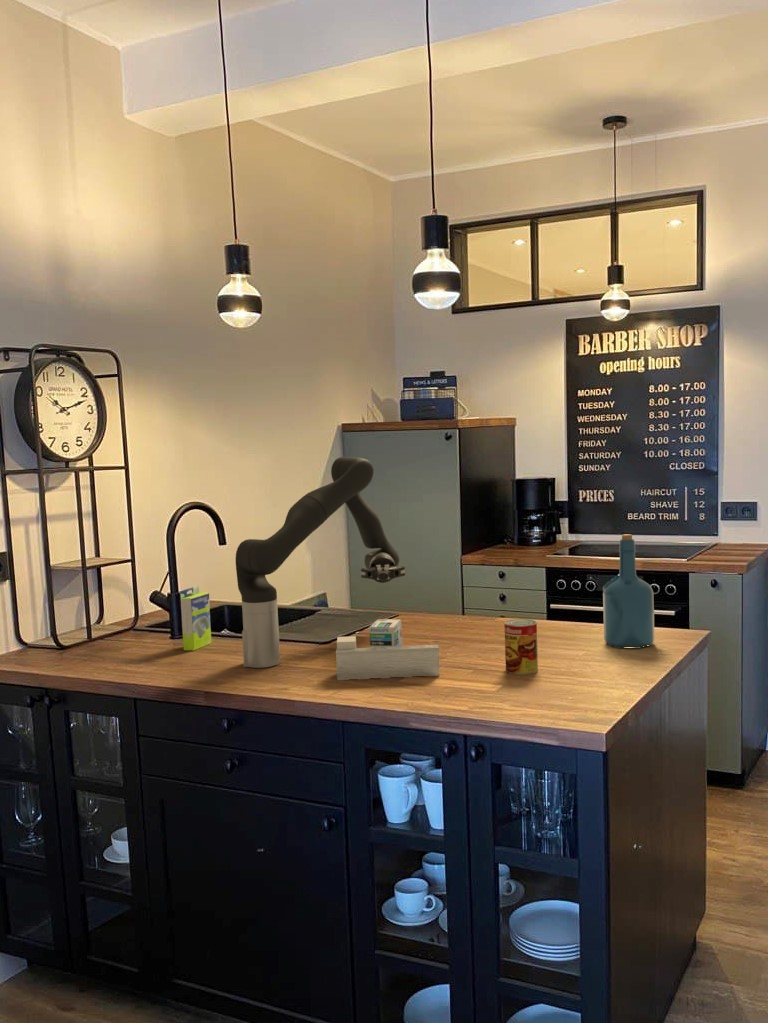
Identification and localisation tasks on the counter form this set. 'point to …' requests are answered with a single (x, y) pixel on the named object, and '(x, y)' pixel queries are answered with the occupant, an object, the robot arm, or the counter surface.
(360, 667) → the rail
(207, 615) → the box
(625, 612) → the wine bottle
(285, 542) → the robot arm
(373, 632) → the light bulb box
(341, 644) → the block
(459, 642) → the counter surface
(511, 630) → the canned food
